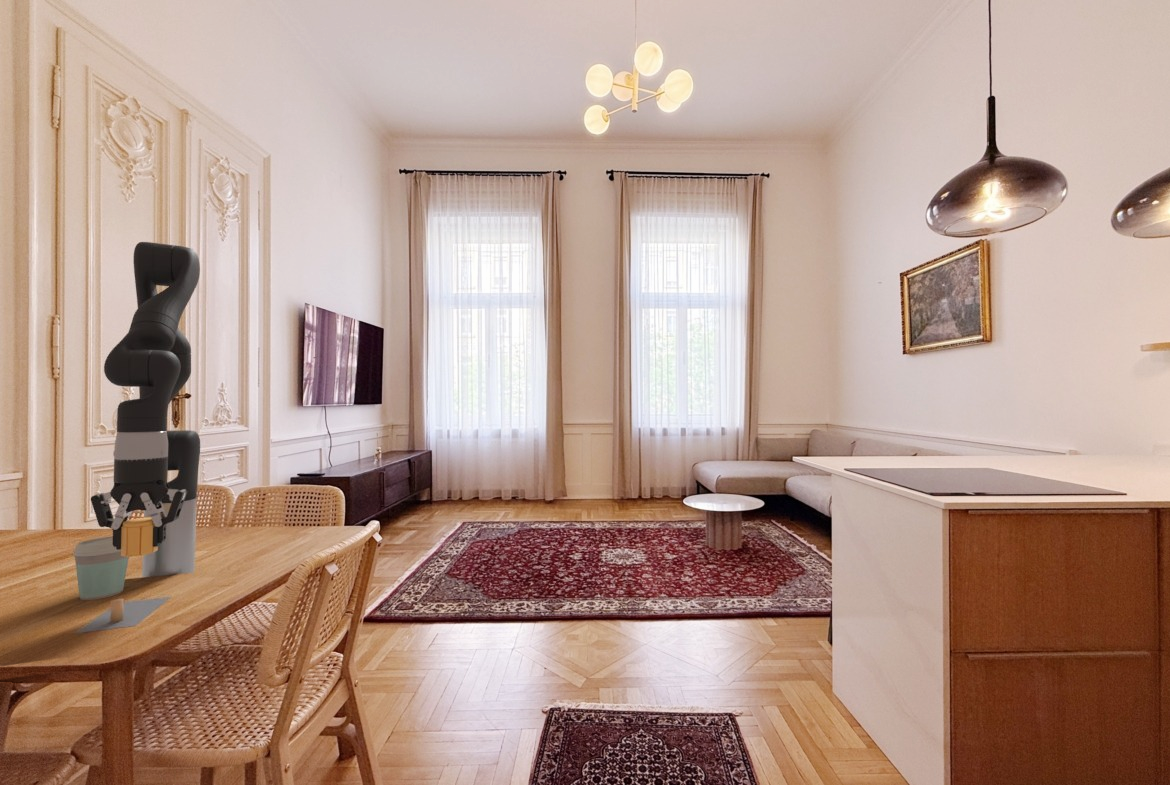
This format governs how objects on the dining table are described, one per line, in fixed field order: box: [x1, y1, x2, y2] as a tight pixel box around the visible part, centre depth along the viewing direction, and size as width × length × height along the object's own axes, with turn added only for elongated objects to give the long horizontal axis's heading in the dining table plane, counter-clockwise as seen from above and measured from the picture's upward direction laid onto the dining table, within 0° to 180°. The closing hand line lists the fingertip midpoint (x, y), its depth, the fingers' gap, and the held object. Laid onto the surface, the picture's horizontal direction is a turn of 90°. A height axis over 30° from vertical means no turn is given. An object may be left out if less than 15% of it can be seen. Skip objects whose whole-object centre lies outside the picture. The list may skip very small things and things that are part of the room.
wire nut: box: [121, 517, 158, 558], centre depth 92 cm, size 5×5×6 cm
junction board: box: [74, 596, 171, 634], centre depth 88 cm, size 14×8×5 cm, turn 21°
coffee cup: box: [72, 535, 130, 601], centre depth 98 cm, size 9×8×12 cm
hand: (139, 546), depth 92 cm, fingers closed on wire nut, 4 cm apart
